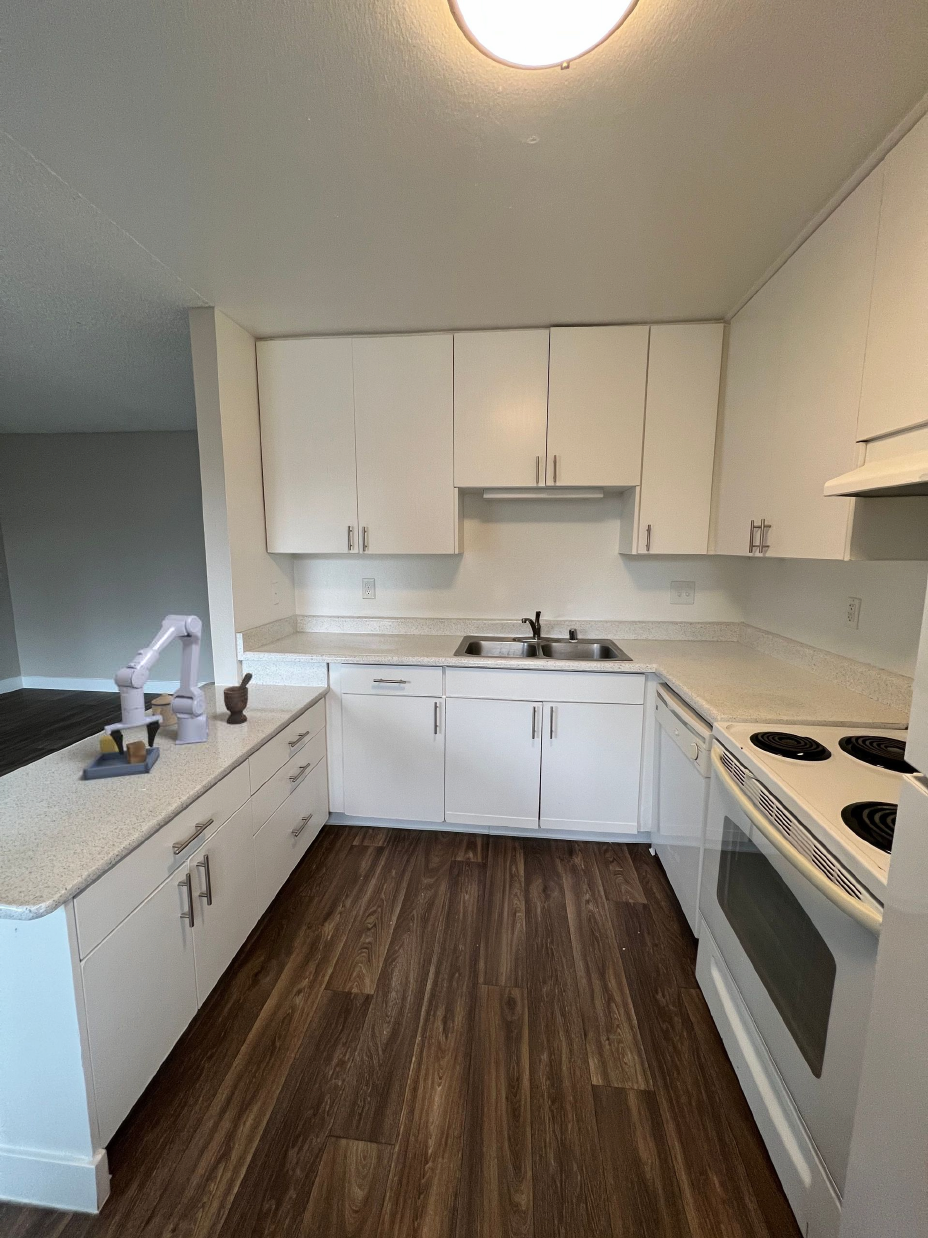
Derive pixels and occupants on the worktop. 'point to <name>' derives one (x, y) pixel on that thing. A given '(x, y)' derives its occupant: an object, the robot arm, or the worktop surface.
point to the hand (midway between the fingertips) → (136, 750)
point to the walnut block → (136, 752)
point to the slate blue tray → (119, 765)
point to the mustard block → (107, 744)
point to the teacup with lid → (164, 709)
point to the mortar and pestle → (237, 700)
